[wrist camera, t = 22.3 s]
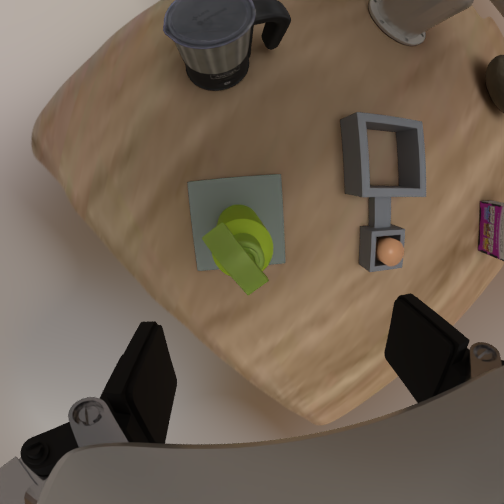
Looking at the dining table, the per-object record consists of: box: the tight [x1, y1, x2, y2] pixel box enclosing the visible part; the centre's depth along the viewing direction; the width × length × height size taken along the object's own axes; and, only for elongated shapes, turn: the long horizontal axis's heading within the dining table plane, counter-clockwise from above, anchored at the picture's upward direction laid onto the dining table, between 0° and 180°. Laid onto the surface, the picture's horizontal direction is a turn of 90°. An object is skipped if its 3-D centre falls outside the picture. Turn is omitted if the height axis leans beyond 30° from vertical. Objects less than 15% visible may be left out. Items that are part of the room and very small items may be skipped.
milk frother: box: [163, 0, 291, 91], centre depth 24 cm, size 14×16×15 cm
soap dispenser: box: [202, 205, 273, 295], centre depth 29 cm, size 6×7×20 cm
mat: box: [187, 174, 285, 271], centre depth 39 cm, size 13×13×1 cm
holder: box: [340, 112, 426, 272], centre depth 36 cm, size 23×11×6 cm, turn 4°
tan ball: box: [375, 236, 404, 266], centre depth 37 cm, size 4×4×3 cm
